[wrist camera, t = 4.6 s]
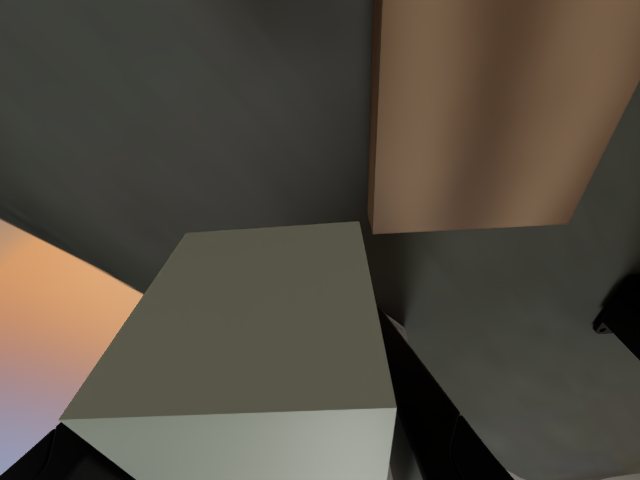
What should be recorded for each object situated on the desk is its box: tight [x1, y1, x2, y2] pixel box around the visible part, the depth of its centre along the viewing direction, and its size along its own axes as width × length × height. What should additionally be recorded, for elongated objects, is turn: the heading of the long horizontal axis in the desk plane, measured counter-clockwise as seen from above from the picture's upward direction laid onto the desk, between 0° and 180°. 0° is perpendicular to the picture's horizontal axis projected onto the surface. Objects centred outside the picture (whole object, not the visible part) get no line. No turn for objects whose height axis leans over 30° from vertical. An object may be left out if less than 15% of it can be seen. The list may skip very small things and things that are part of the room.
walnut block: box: [367, 0, 640, 234], centre depth 15 cm, size 11×11×3 cm
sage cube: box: [59, 221, 397, 480], centre depth 8 cm, size 5×5×5 cm
